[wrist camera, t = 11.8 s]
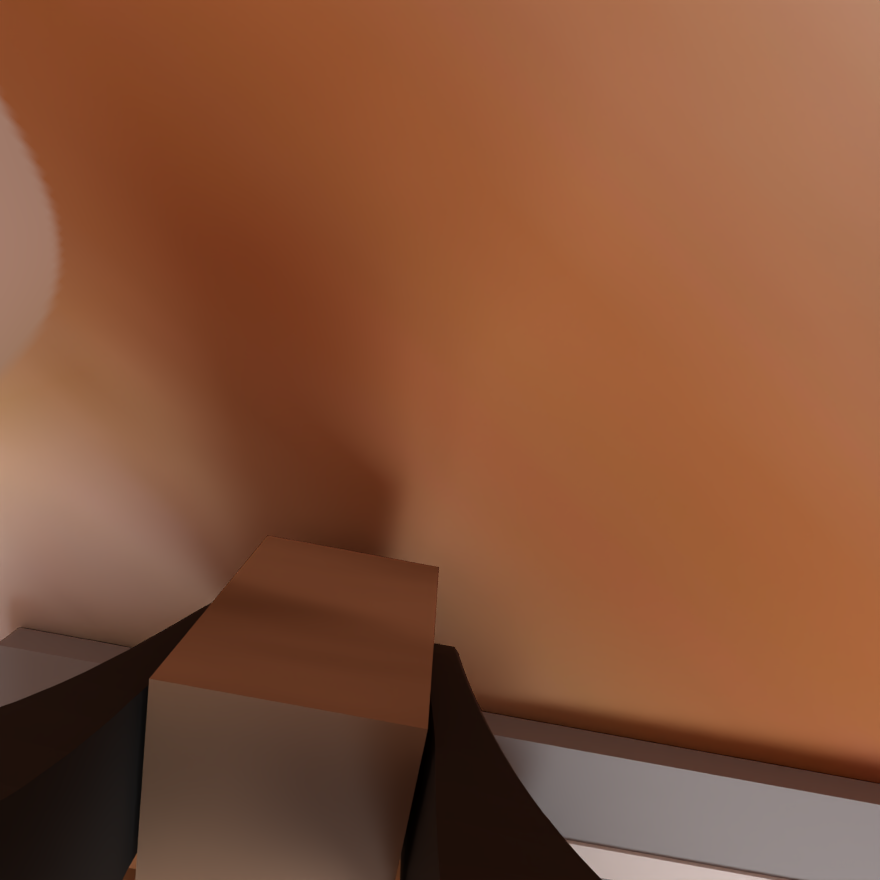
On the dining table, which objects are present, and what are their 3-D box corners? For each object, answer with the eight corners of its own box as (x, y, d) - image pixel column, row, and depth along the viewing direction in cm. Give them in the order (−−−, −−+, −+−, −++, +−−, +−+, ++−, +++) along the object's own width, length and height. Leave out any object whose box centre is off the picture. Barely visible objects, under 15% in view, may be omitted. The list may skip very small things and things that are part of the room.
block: (408, 712, 14) (382, 937, 9) (249, 683, 14) (133, 893, 9) (439, 566, 13) (428, 729, 8) (267, 535, 13) (149, 678, 8)
